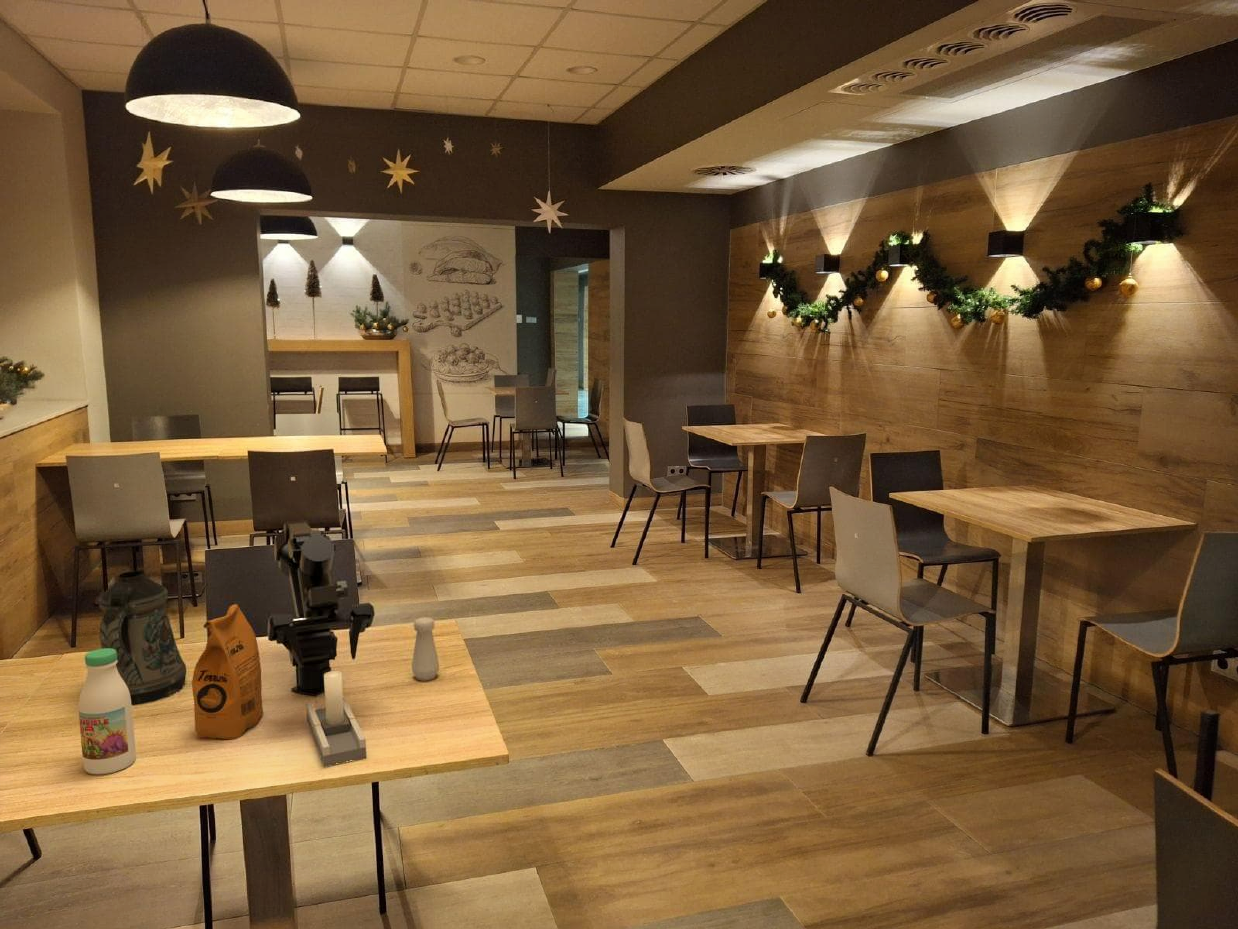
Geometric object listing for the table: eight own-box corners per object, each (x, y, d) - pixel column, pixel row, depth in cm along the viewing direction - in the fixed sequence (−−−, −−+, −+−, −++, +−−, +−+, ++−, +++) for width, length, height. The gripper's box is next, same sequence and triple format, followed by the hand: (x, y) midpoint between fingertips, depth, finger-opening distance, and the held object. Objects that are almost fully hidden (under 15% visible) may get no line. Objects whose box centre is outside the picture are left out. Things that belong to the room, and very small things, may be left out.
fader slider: (320, 727, 155) (318, 672, 154) (345, 722, 157) (343, 668, 156) (324, 736, 152) (321, 680, 150) (350, 731, 154) (347, 675, 152)
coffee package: (185, 740, 155) (176, 623, 152) (222, 711, 167) (215, 602, 164) (238, 742, 154) (230, 624, 151) (271, 713, 166) (265, 603, 163)
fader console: (307, 721, 162) (306, 703, 162) (345, 714, 166) (344, 696, 165) (324, 767, 145) (323, 746, 144) (366, 758, 148) (365, 737, 148)
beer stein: (182, 669, 189) (174, 559, 185) (194, 699, 172) (185, 579, 169) (94, 685, 180) (84, 570, 176) (98, 719, 164) (87, 592, 160)
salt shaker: (432, 683, 181) (430, 624, 179) (407, 681, 182) (405, 622, 180) (443, 673, 186) (442, 615, 185) (419, 671, 188) (417, 614, 186)
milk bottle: (98, 755, 149) (88, 644, 146) (144, 753, 150) (135, 643, 147) (74, 777, 142) (63, 661, 139) (123, 775, 142) (113, 659, 140)
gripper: (267, 572, 155) (277, 650, 147) (371, 562, 164) (386, 635, 156) (263, 602, 163) (272, 678, 155) (363, 591, 172) (377, 662, 164)
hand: (328, 662), depth 157 cm, fingers open, 9 cm apart
